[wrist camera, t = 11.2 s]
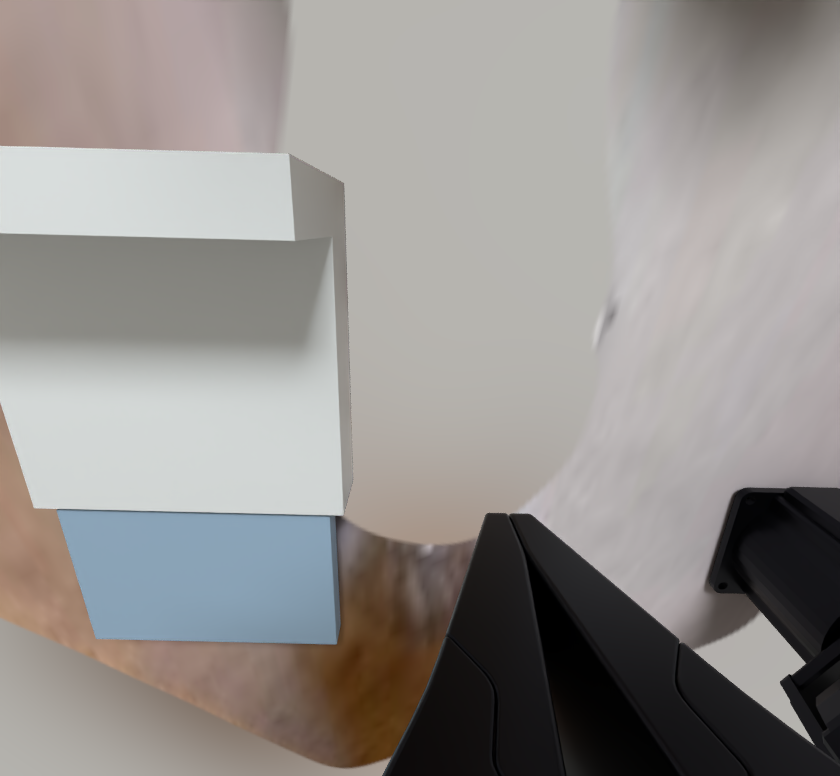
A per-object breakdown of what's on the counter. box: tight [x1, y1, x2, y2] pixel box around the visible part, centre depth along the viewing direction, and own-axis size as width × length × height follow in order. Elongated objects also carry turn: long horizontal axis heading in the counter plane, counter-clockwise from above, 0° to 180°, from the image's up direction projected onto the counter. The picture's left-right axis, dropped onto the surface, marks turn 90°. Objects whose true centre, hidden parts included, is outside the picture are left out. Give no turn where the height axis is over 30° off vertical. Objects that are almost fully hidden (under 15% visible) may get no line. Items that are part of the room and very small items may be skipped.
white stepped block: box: [0, 146, 353, 516], centre depth 17 cm, size 14×14×8 cm
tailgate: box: [57, 509, 341, 644], centre depth 23 cm, size 2×13×8 cm
